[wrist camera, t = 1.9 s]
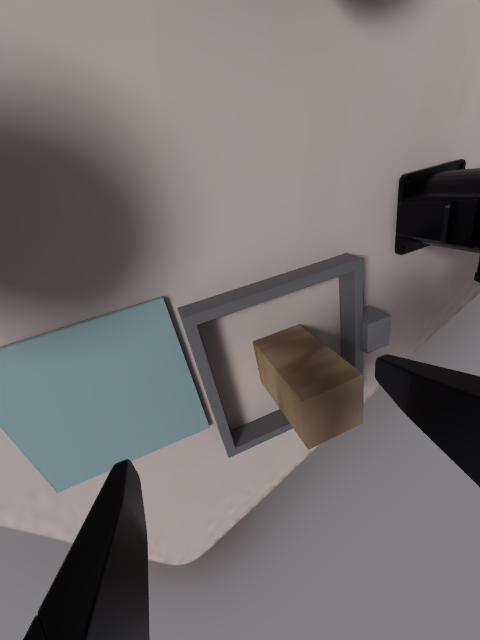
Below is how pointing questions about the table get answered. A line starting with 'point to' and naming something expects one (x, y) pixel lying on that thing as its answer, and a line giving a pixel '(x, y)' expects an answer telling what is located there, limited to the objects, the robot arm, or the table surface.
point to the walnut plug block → (310, 384)
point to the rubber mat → (98, 393)
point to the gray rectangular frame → (356, 322)
